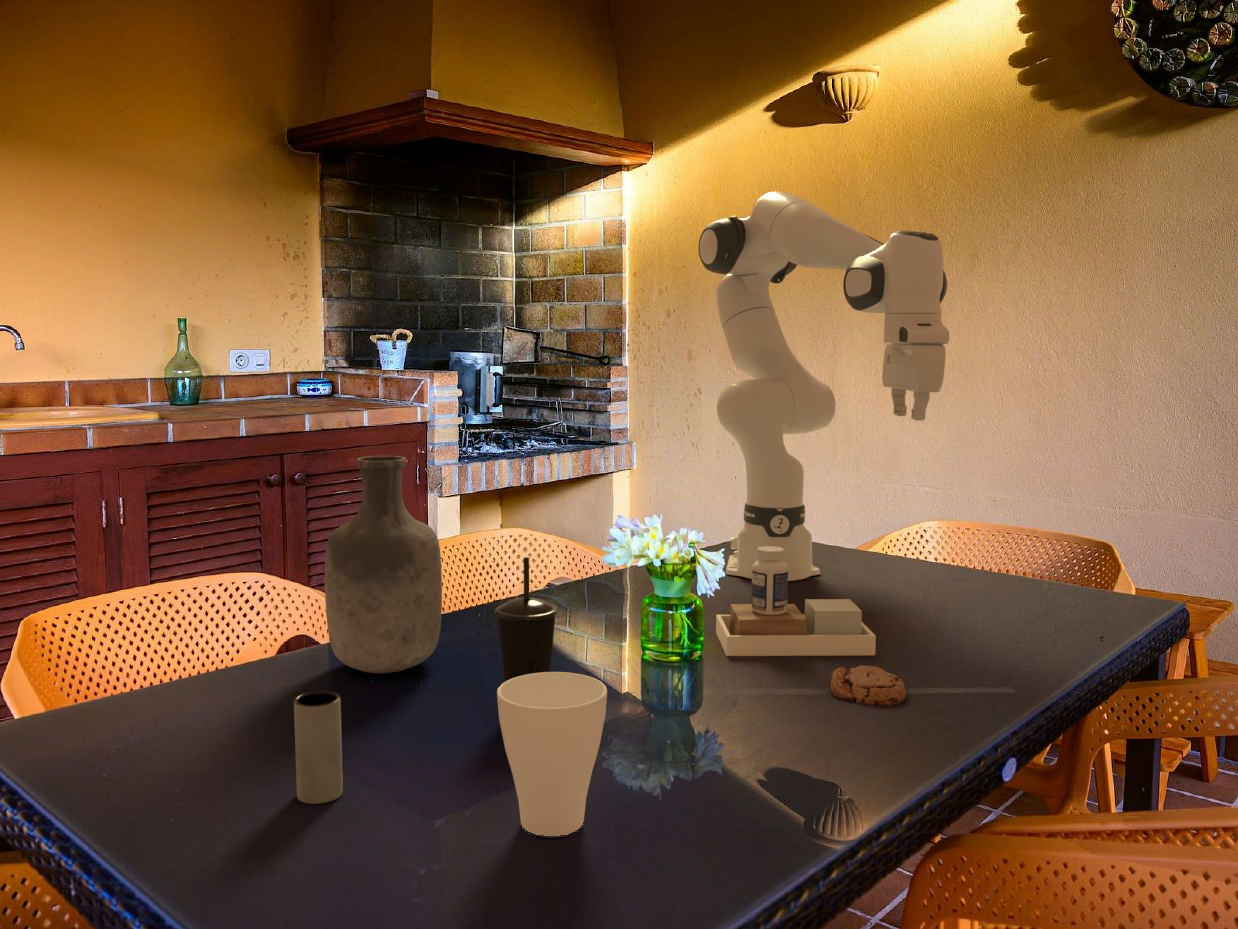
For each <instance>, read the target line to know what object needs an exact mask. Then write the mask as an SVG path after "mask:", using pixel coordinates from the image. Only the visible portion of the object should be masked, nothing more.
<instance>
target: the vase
mask: <svg viewBox="0 0 1238 929" xmlns="http://www.w3.org/2000/svg"><path fill="white" fill-rule="evenodd" d="M355 464H356V467H357V468H358V469H359V470H360V477H361V478H360V479H361V480H360V481H361V495H362V496H361V503H360V506H359V508H358V511H357V512H356V514H355V515H354V516H353V517H352V518H351V520H350V521H349V522H346V523H345V524H342V525H341V526H339V527H337V528H336V529H335V530H333V531H332V532H331V534H330V535H329V537H328V539H327V544H326V548H325V556H324V595H325V596H324V597H325V598H324V599H325V600H324V601H325V614H326V615H325V616H326V623H327V625H326V626H327V632H328V638H329V643H330V646H331V649H332V652H333V653H334V655H335V657H336V658H337V659H338V660H339V661H340V662H341V663H342V664H343V665H346V666H348V667H349V668H352V669H355V670H357V671H361V672H364V673H371V674H391V673H397V672H401V671H405V670H408V669H411V668H413V667H415V666H418V665H419V664H421V663H422V662H425V661H426V660H427V659H428V658H429V657H430V656H431V655H432V654H433V653H434V651H435V649H436V647H437V645H438V642H439V638H440V634H441V625H442V624H441V623H442V613H443V612H442V609H443V604H442V603H443V580H442V579H443V576H442V574H443V572H442V556H441V547H440V541H439V539H438V536H437V533H436V531H434V530H433V528H432V527H431V526H429V525H428V524H426V523H425V522H421V521H420V520H417V519H415V518H414V517H413V516H412V515H411V514H410V512H409V511H408V510H407V508H406V506H405V504H404V500H403V499H404V498H403V488H402V487H403V485H402V484H403V469H404V468H405V467H406V466H407V458H406V457H404V456H398V455H371V456H369V455H368V456H362V457H361V456H360V457H358V458H356V460H355Z"/></svg>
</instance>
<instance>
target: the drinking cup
mask: <svg viewBox="0 0 1238 929" xmlns="http://www.w3.org/2000/svg"><path fill="white" fill-rule="evenodd" d="M558 610H559V609H558V607H557V606H556V605H555V604H553V603H550V602H547V601H545V600H544V599H541V598H535V597H530V557H526V556H525V557H523V597H518V598H515V599H512V600H509V601H507V602H505V603H502V604H500V605H498V606H497V607H496V608H495V611H494V612H495V615H496V616H497V623H498V632H499V642H500V649H501V650H500V651H501V660H502V662H501V664H502V670H503V672H502V673H503V680H504V682H506V681H508V680H509V679H512V678H515V677H518V676H522V675H527V674H533V673H542V672H552V671H551V670H552V669H551V668H552V659H553V658H552V656H553V647H554V636H555V635H554V634H555V626H556V625H555V624H556V623H555V622H556V616H557V614H558ZM504 682H503V683H504Z"/></svg>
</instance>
